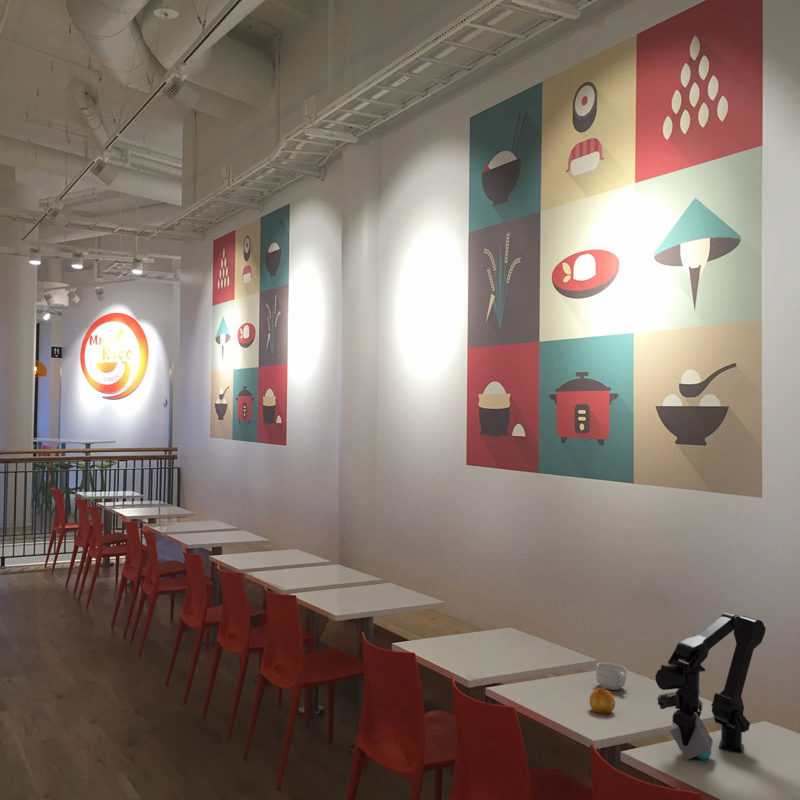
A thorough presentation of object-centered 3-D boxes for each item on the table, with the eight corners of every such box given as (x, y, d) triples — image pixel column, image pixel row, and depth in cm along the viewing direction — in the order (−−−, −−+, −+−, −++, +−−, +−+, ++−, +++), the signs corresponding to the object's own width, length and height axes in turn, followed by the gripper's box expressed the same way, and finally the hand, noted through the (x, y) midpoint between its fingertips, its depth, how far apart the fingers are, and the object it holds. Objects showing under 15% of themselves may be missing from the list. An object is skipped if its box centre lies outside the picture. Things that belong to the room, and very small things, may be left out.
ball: (712, 740, 230) (710, 757, 230) (693, 736, 232) (692, 753, 232) (711, 746, 225) (710, 764, 225) (693, 742, 227) (691, 759, 227)
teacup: (591, 683, 297) (592, 661, 297) (619, 683, 298) (620, 661, 298) (605, 695, 283) (606, 672, 283) (634, 695, 284) (635, 673, 284)
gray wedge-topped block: (689, 750, 234) (672, 721, 236) (712, 740, 231) (696, 712, 233) (686, 760, 227) (669, 730, 229) (710, 750, 224) (693, 720, 226)
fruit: (594, 709, 260) (604, 687, 262) (581, 703, 267) (591, 681, 270) (612, 721, 261) (623, 699, 264) (599, 715, 269) (609, 693, 271)
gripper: (664, 674, 243) (663, 726, 242) (654, 689, 227) (653, 745, 226) (703, 680, 238) (701, 733, 237) (696, 697, 222) (694, 753, 221)
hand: (687, 741), depth 230 cm, fingers closed on gray wedge-topped block, 8 cm apart
